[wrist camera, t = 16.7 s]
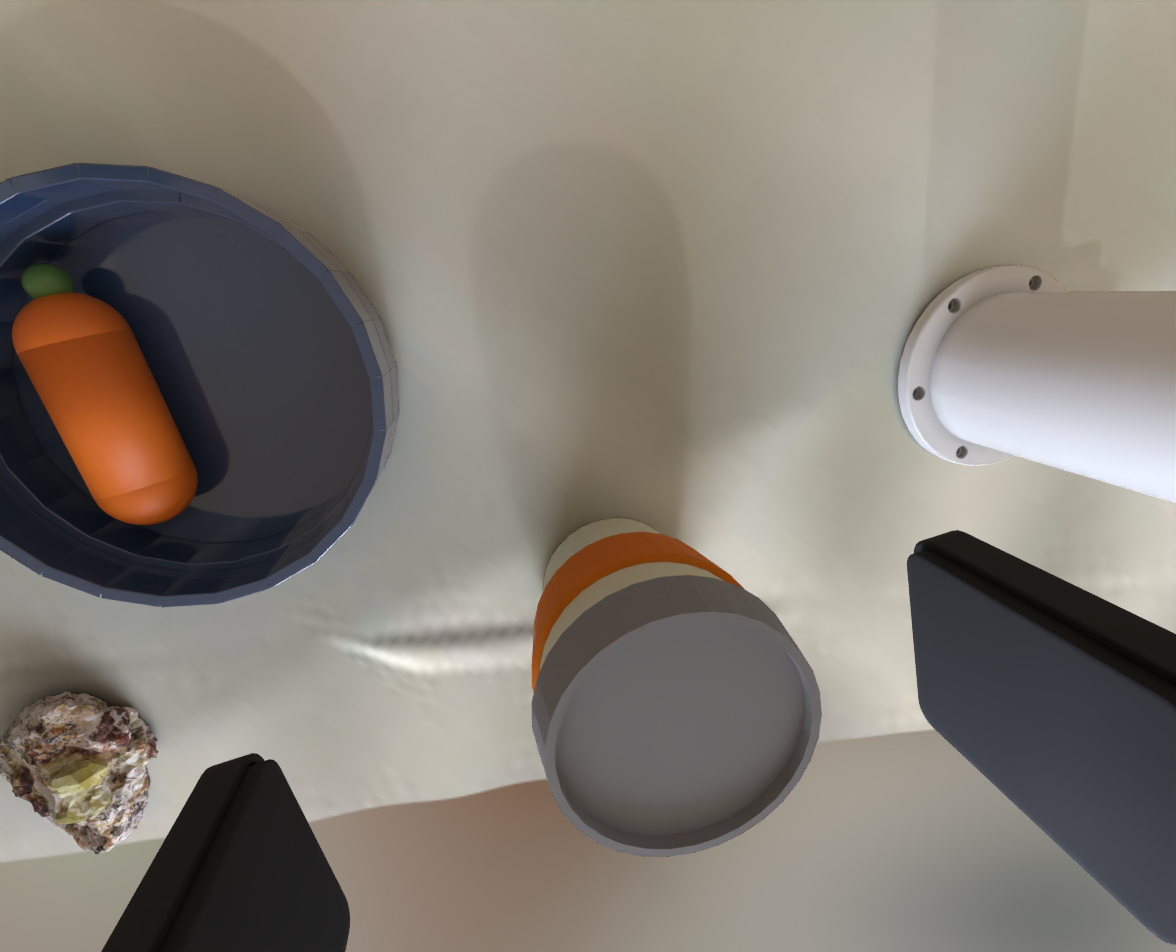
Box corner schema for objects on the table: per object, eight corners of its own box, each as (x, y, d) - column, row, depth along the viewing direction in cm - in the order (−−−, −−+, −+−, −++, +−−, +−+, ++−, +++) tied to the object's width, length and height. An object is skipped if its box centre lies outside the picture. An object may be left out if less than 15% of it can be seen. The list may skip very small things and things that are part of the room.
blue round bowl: (249, 112, 30) (196, 69, 24) (466, 446, 36) (464, 475, 30) (-102, 314, 29) (-240, 319, 24) (177, 615, 36) (121, 676, 30)
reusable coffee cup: (507, 669, 40) (525, 872, 26) (522, 485, 37) (551, 602, 23) (690, 667, 43) (797, 852, 29) (718, 494, 40) (855, 606, 25)
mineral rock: (-63, 727, 33) (71, 724, 32) (16, 675, 37) (137, 670, 36) (20, 875, 36) (143, 877, 35) (84, 812, 40) (196, 812, 39)
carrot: (191, 523, 30) (96, 549, 29) (225, 495, 34) (142, 518, 33) (58, 248, 26) (-55, 274, 25) (116, 255, 30) (20, 277, 29)
